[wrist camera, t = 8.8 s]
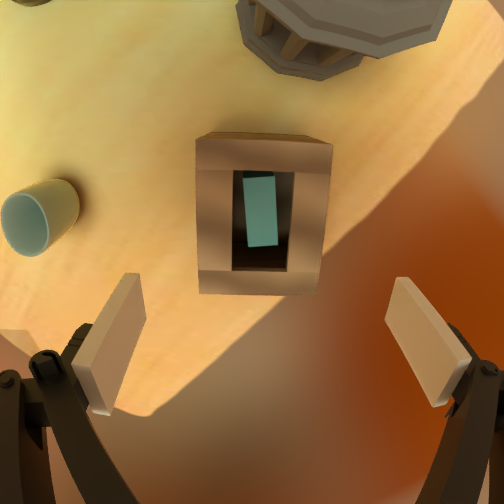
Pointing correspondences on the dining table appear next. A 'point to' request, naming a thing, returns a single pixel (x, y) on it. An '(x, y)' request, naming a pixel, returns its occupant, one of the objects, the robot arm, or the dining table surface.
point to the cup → (39, 215)
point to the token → (260, 208)
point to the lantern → (335, 31)
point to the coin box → (234, 217)
